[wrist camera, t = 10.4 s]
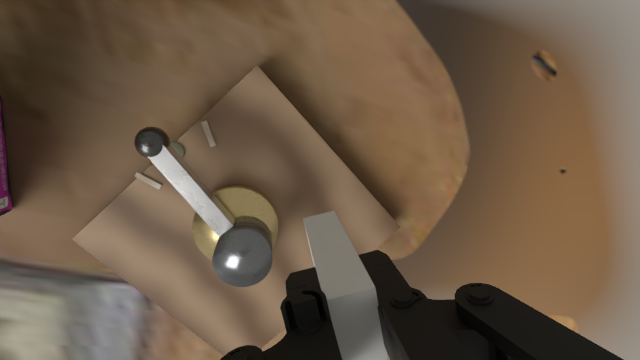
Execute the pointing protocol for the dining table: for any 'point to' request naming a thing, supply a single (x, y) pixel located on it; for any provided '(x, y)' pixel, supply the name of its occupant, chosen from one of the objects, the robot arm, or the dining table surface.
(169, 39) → the dining table surface
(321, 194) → the board
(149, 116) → the dining table surface
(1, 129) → the candy bar box
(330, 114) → the dining table surface
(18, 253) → the dining table surface
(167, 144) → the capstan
